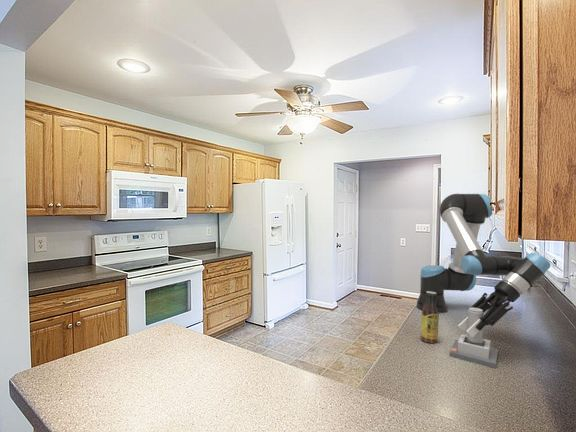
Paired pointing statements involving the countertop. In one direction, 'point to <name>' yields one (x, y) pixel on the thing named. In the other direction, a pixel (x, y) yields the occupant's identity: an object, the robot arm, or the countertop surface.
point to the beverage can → (472, 318)
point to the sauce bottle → (430, 319)
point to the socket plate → (474, 351)
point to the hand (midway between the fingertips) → (464, 331)
